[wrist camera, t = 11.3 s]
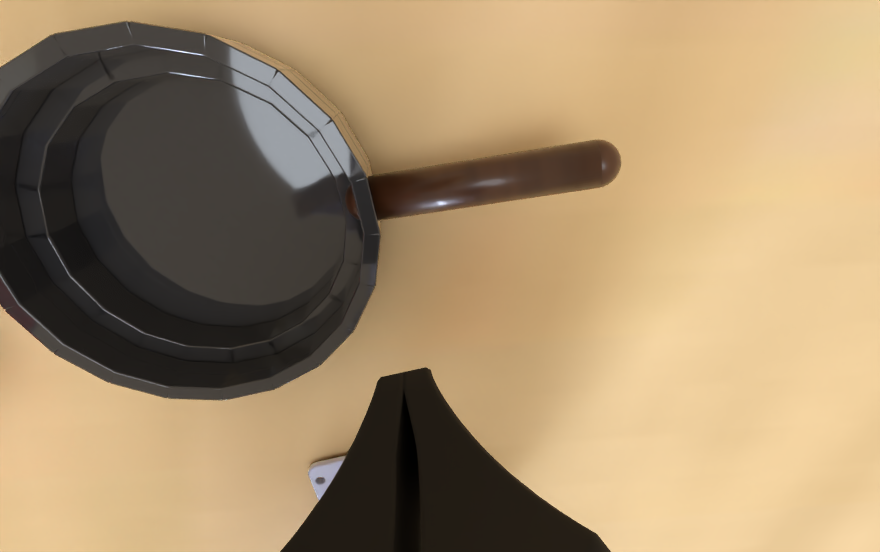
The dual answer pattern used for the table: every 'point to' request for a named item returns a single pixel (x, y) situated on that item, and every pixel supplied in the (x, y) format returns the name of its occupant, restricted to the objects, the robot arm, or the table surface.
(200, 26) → the table surface
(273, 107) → the pan
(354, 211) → the pan handle
